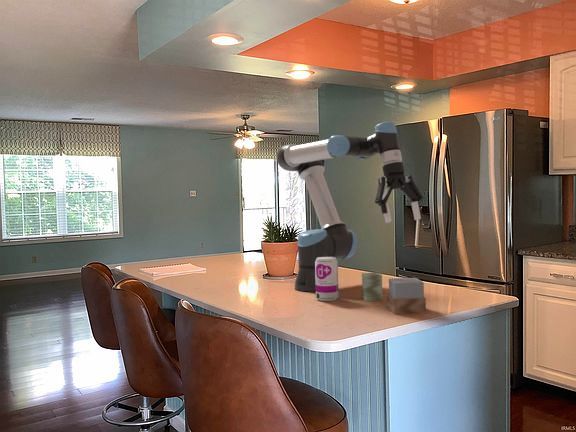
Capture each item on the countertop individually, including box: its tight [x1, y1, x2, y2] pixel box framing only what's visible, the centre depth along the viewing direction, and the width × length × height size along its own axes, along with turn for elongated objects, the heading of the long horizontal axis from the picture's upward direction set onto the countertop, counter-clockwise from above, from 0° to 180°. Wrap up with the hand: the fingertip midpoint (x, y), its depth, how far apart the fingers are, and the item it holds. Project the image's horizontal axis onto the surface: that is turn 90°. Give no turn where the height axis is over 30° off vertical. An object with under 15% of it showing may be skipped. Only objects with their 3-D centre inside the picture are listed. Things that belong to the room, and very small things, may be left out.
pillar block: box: [361, 272, 383, 302], centre depth 186 cm, size 6×6×9 cm
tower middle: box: [388, 277, 425, 299], centre depth 167 cm, size 9×9×5 cm
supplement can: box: [315, 257, 339, 302], centre depth 187 cm, size 8×8×15 cm
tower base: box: [386, 292, 427, 315], centre depth 167 cm, size 10×10×5 cm
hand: (403, 221), depth 187 cm, fingers open, 13 cm apart
